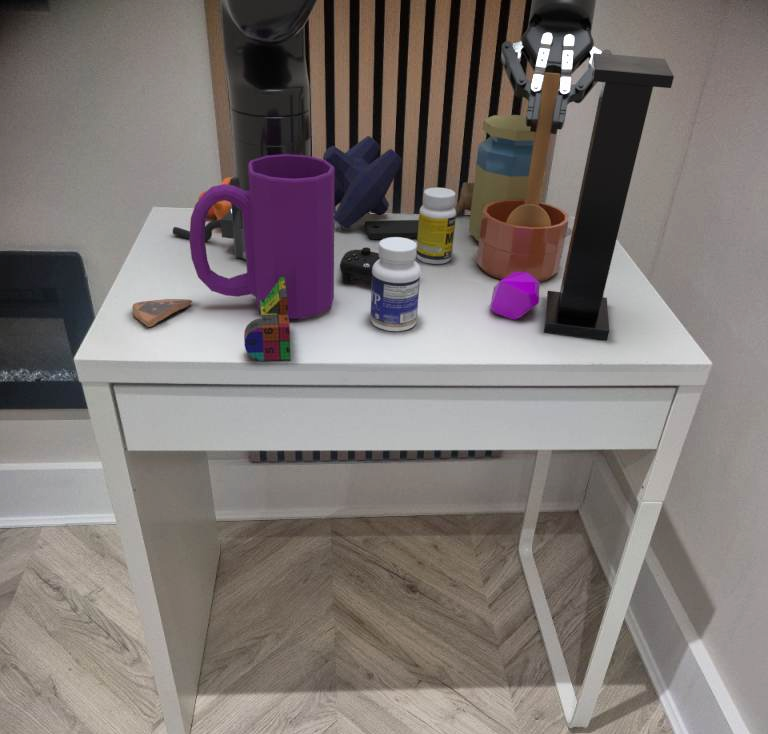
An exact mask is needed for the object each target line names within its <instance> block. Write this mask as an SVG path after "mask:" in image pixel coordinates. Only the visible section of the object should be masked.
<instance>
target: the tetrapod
mask: <svg viewBox="0 0 768 734" xmlns="http://www.w3.org/2000/svg"><path fill="white" fill-rule="evenodd" d="M380 148H381V147H380V145H379V143H377V141H376V140H374V138H373V137H372V136H370V135H367V136H366V137H364V138H363V139H362V140H360V141H359V142H358V143H356V144H354V146H352V147H351V148H349V149H348V150H347V151H346V152H345V151H342V150H341V149H340V148H338V147H336V146H335V145H331V146H330V147H328V148H327V149H326V150H325V152H324V153H323V157H322V160H326V161H327V162H328V163H330V164H331V165H332V166H333V167H334V169H335V184H334V208H335V207H337V206H338V207H337V209H336V211H335V212H334V221H335V222H336V223H337V224H338V225H340V227H342V228H343V229H344V230H347V229H349V228H350V227H352V226H353V225H354V224H356V223H357V222H358V221H360V220H361V219H362V218H363V217H365V216H366V215H368V214H369V213H370V212H372V213H374V214H375V215H377V216H378V217H380V216H383V215H385V214H386V213H387V211H389V207H390V203H389V201H388V200H387V198H386V195H387V193H388V191H389V190H390V187H391V185H392V183H393V181H394V179H395V177H396V175H397V174H398V171H399V169H400V168H401V166H402V164H403V159H402V158H401V157H400V155H399V154H398V153H397V152H396V151H395V150H393V149H392V148H389V149H387V151H384V153H383V154H380V155H379V156H378V157H377V155H378V153H379V151H380ZM376 157H377V158H376Z"/></svg>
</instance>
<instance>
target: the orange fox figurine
mask: <svg viewBox="0 0 768 734" xmlns="http://www.w3.org/2000/svg"><path fill="white" fill-rule="evenodd" d="M232 177H233V176H231V177H224V178H223V180H222V181H221V182H220V184H219V185H222V184H226V185H230V179H231V178H232ZM206 191H207V190H206ZM206 191H203V192H201V193H200V195H199V196H198V200H197V202H198V201H199V199H200V198H201V197H202V196H203V194H204V193H205V192H206ZM230 210H231V203H230V202H228V201H226V200H224V201H219V202H217V203H216V204H214V205H213V206H212V207H211V208H210V210H209V211H208V214H207V217H208V216H209V217H214V216H215V217H216V220H220V219H221V218H222V217H224V216H225V215H226V214H227V213H228V212H229V211H230Z"/></svg>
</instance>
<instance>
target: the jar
mask: <svg viewBox="0 0 768 734" xmlns="http://www.w3.org/2000/svg"><path fill="white" fill-rule="evenodd" d="M530 128H531V127H528V126H526V116H525V115H519V114H494V115H491V116H489V117H487V118H484V119H483V120H482V128H481V129H482V130H483V131H484V132H485V133H486V134H488V136H489V137H487V138H486V139H484V140H483V141H481V142H480V143H479V144H478V145H477V155H476V163H475V172H474V181H473V183H474V188H473V197H472V205H471V211H470V214H469V223H468V232H469V233H470V234H471V236H473V237H474V239H475V240H476V241H478V242H479V237H480V229H481V221H482V213H483V209H484V206H486V205H487V204H489V203H491V202H495V201H500V200H513V199H521V200H525V196H526V190H527V183H528V177H529V171H530V164H531V158H532V151H533V145H534V138H535V132H530ZM549 155H550V150H549V149H548V153H547V159H546V165H545V171H544V177H543V184H542V190H541V196H540V201H541V199H542V194H543V190H544V189H543V188H544V182H545V177H546V171H547V165H548V159H549Z"/></svg>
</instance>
